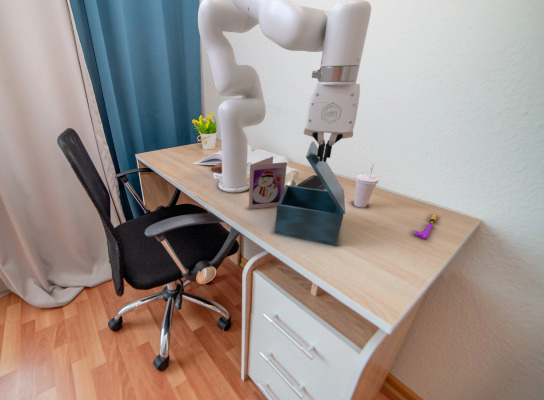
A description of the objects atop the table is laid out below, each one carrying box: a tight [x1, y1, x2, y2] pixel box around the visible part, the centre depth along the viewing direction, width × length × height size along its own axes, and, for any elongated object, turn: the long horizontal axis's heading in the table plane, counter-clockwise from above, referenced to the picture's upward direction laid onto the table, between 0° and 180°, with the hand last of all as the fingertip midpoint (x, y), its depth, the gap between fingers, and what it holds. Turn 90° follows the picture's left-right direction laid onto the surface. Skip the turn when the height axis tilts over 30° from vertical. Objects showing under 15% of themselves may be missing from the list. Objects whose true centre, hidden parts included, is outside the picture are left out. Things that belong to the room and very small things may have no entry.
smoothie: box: [353, 163, 380, 208], centre depth 76 cm, size 6×6×14 cm
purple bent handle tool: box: [414, 214, 438, 240], centre depth 67 cm, size 3×1×16 cm
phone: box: [296, 174, 326, 190], centre depth 93 cm, size 8×1×15 cm
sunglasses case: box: [210, 161, 222, 174], centre depth 113 cm, size 18×7×7 cm, turn 140°
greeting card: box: [248, 156, 288, 210], centre depth 78 cm, size 11×7×15 cm, turn 99°
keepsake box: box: [274, 184, 344, 247], centre depth 67 cm, size 16×14×9 cm
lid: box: [305, 140, 346, 216], centre depth 61 cm, size 16×14×1 cm
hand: (322, 159), depth 59 cm, fingers closed
